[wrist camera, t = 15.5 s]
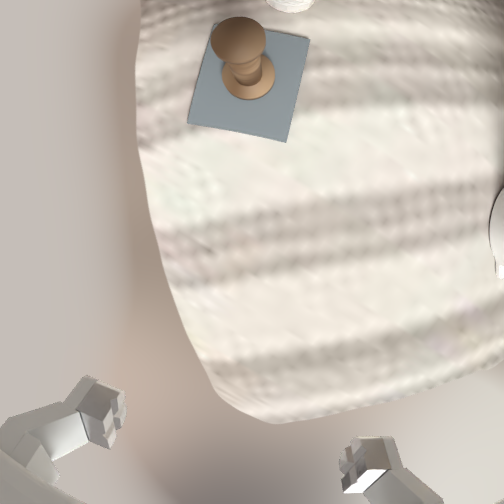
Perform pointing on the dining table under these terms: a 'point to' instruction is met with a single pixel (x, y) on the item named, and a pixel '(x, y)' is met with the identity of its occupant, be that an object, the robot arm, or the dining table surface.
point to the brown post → (243, 57)
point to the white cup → (290, 5)
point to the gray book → (259, 110)
